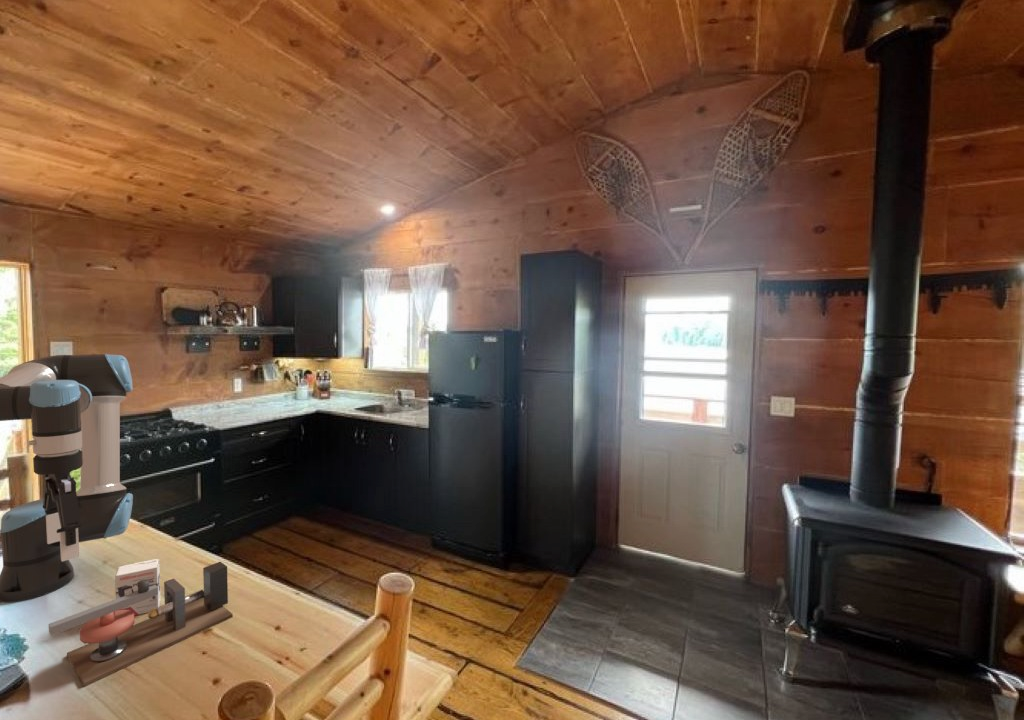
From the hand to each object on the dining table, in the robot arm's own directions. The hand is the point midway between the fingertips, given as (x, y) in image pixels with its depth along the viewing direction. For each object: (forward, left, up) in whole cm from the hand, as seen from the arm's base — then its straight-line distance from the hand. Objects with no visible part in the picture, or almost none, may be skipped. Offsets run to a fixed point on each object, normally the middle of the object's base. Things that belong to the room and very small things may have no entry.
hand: (62, 549), depth 99 cm
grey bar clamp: (+8, +21, -23) cm, 32 cm away
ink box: (-6, +15, -24) cm, 29 cm away
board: (+8, +14, -24) cm, 29 cm away
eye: (+8, +18, -24) cm, 31 cm away
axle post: (+8, +5, -24) cm, 26 cm away
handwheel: (+8, +5, -18) cm, 20 cm away
